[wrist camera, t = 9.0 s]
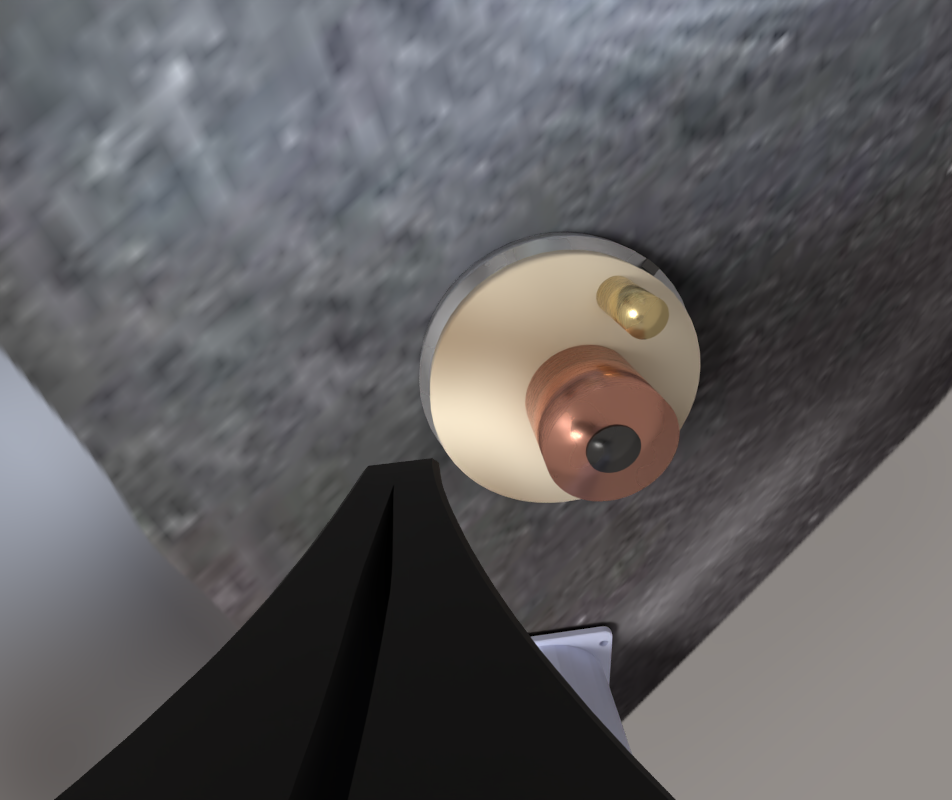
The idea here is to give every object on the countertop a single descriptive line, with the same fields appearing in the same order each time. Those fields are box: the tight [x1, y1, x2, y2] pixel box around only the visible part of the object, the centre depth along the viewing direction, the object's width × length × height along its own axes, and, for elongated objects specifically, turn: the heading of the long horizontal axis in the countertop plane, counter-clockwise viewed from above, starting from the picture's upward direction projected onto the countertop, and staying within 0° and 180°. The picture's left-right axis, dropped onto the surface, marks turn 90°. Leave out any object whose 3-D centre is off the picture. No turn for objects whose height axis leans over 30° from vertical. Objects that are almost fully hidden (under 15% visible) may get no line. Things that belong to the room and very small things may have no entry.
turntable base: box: [419, 232, 686, 446], centre depth 18 cm, size 10×10×1 cm
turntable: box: [430, 250, 700, 503], centre depth 16 cm, size 10×10×4 cm
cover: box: [525, 345, 680, 501], centre depth 15 cm, size 4×4×3 cm
